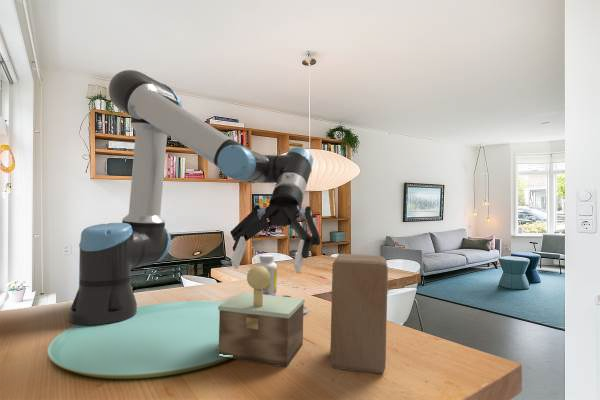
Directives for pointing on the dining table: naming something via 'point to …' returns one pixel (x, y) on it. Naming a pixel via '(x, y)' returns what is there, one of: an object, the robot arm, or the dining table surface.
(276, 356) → the box
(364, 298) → the block
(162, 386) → the dining table surface
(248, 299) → the lid
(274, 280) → the supplement bottle
